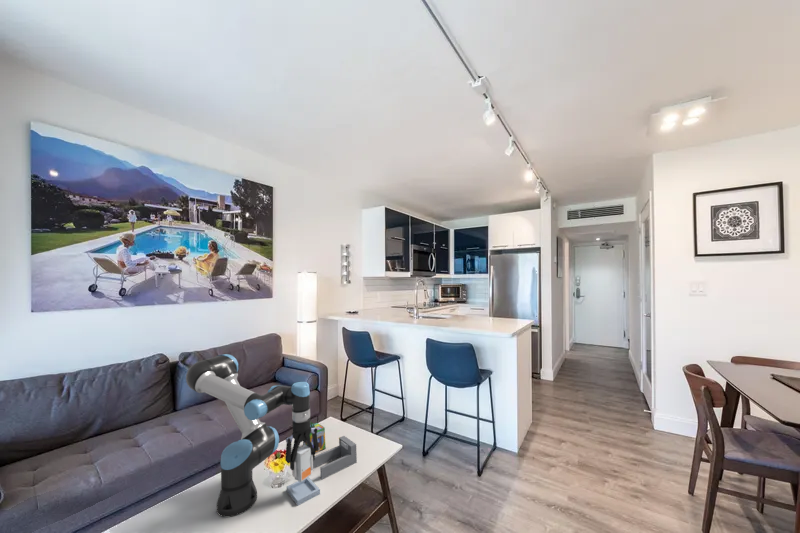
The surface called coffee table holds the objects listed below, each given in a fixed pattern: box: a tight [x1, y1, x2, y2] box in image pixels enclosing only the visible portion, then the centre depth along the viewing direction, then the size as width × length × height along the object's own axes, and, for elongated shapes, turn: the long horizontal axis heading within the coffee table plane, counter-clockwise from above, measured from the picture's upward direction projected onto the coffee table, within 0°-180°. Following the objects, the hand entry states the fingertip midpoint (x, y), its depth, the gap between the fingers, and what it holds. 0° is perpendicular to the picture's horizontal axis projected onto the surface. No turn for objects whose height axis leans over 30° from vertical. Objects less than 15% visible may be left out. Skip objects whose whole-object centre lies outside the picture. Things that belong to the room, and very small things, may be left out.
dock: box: [313, 435, 358, 480], centre depth 154 cm, size 19×12×9 cm, turn 131°
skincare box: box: [294, 445, 312, 482], centre depth 136 cm, size 6×4×12 cm
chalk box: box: [302, 420, 327, 453], centre depth 170 cm, size 9×9×15 cm
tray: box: [286, 476, 321, 506], centre depth 136 cm, size 10×12×2 cm
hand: (302, 472), depth 136 cm, fingers closed on skincare box, 7 cm apart
